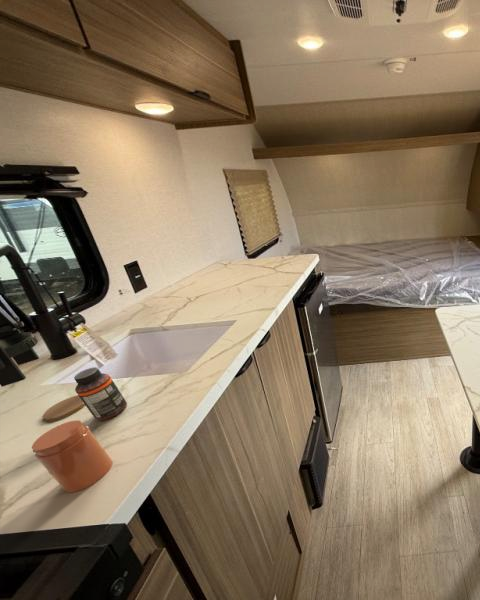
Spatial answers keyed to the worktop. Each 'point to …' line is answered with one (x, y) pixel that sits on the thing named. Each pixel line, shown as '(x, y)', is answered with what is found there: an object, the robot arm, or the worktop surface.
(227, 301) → the worktop surface
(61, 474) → the jam jar
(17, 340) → the jam lid
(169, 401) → the worktop surface
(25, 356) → the robot arm
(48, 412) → the coaster
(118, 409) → the supplement bottle
